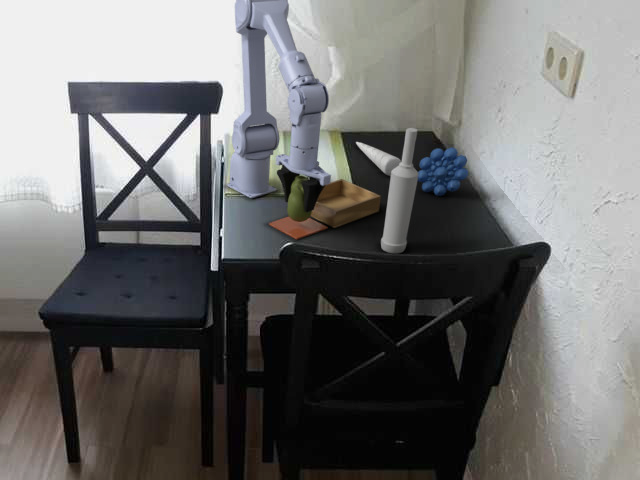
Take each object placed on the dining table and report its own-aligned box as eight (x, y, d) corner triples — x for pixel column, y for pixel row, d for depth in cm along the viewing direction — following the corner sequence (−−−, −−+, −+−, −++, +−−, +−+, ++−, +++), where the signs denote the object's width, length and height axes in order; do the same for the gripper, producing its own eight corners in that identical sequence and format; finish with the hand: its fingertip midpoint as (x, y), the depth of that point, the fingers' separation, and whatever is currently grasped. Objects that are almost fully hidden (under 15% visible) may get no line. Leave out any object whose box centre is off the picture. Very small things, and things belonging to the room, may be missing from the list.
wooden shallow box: (295, 208, 171) (297, 193, 168) (339, 193, 178) (341, 178, 176) (334, 227, 162) (335, 211, 160) (378, 211, 170) (381, 195, 168)
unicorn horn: (368, 143, 207) (371, 126, 204) (401, 176, 187) (404, 158, 184) (352, 144, 206) (354, 127, 203) (383, 177, 186) (385, 159, 184)
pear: (285, 214, 164) (288, 171, 159) (310, 215, 164) (314, 171, 159) (287, 225, 160) (290, 181, 154) (312, 226, 160) (316, 182, 154)
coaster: (268, 224, 164) (268, 223, 163) (299, 214, 168) (299, 212, 168) (296, 239, 158) (296, 238, 157) (327, 228, 162) (327, 226, 162)
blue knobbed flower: (467, 194, 178) (477, 145, 171) (459, 204, 173) (469, 154, 167) (419, 184, 183) (427, 136, 176) (410, 193, 178) (418, 145, 172)
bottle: (377, 242, 157) (394, 125, 143) (401, 241, 157) (420, 125, 143) (384, 254, 152) (402, 134, 139) (408, 253, 153) (429, 134, 139)
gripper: (344, 150, 150) (337, 212, 157) (294, 130, 160) (290, 190, 167) (318, 158, 146) (312, 221, 154) (269, 137, 156) (266, 198, 163)
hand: (299, 205), depth 160 cm, fingers closed on pear, 5 cm apart
